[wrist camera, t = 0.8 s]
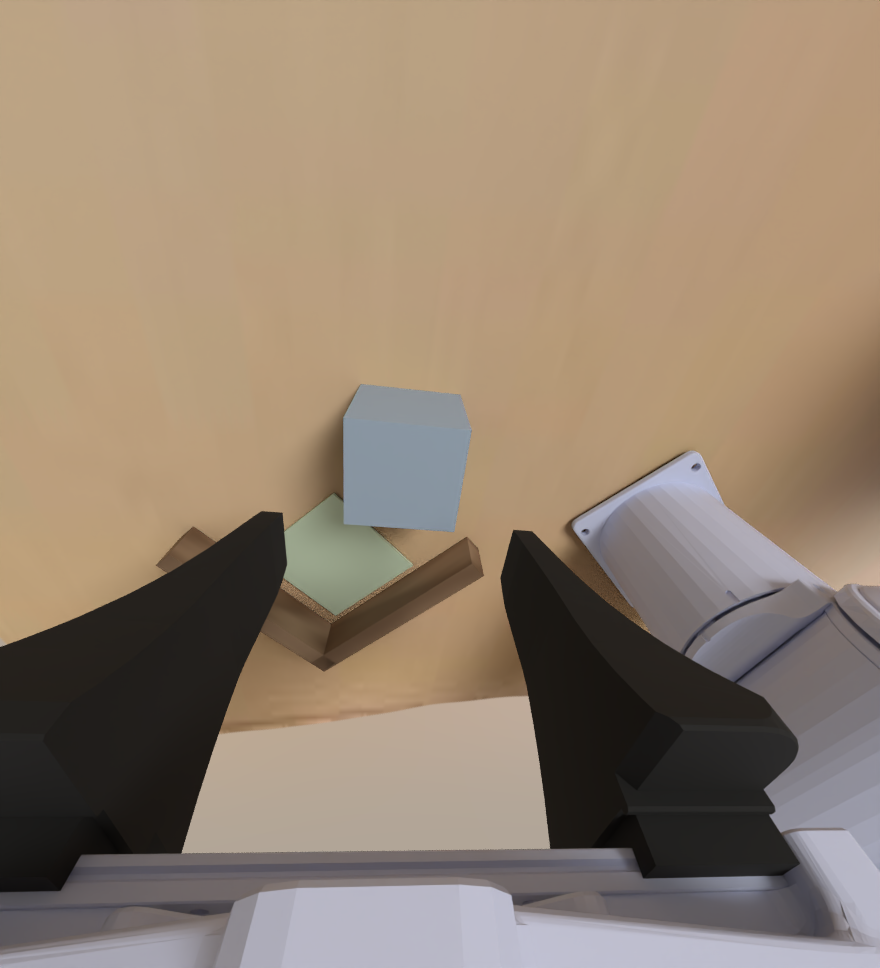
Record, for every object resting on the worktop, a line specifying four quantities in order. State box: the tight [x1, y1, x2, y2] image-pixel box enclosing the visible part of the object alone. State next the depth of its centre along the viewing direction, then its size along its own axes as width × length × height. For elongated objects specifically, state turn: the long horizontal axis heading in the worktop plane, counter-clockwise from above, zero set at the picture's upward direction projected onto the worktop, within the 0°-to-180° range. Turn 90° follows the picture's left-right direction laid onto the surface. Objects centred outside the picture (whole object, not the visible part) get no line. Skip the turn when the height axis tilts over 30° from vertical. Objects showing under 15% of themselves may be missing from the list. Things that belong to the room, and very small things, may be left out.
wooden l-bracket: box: [156, 527, 484, 671], centre depth 22 cm, size 12×13×2 cm
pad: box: [283, 493, 413, 616], centre depth 24 cm, size 7×7×1 cm
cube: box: [343, 384, 472, 532], centre depth 18 cm, size 5×5×5 cm
